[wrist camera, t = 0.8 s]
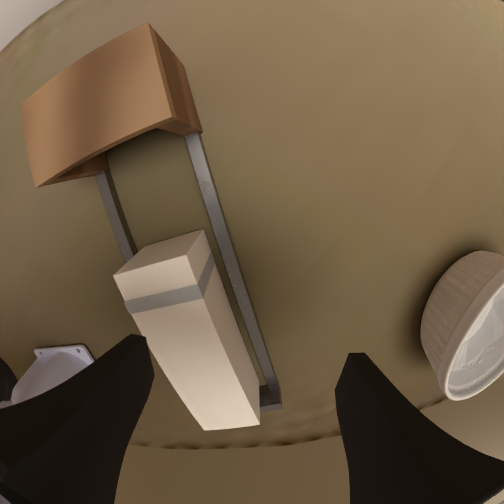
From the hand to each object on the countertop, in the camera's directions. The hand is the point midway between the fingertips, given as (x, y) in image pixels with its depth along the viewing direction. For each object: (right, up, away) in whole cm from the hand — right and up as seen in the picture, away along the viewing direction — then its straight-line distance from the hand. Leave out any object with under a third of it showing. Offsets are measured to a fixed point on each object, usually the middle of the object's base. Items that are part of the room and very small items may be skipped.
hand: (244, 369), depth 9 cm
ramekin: (+21, -1, +11) cm, 24 cm away
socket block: (-7, +13, +6) cm, 16 cm away
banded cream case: (-3, -1, +11) cm, 12 cm away
